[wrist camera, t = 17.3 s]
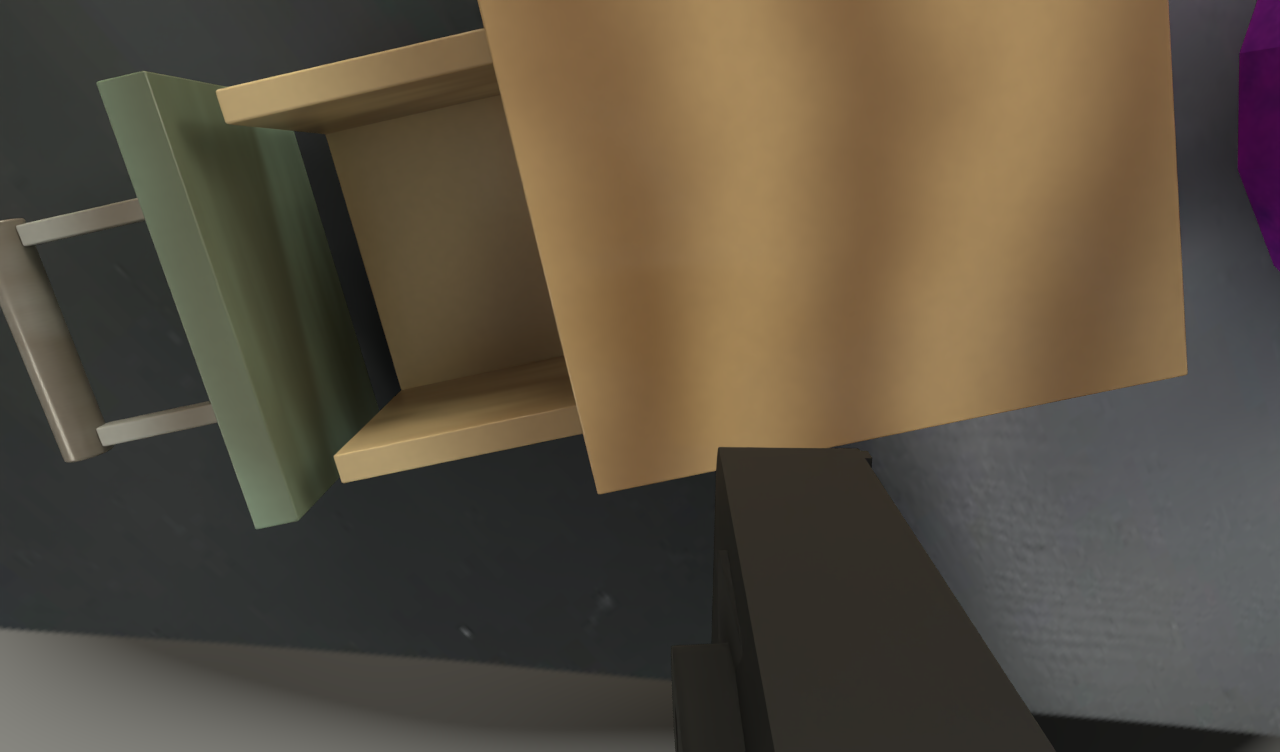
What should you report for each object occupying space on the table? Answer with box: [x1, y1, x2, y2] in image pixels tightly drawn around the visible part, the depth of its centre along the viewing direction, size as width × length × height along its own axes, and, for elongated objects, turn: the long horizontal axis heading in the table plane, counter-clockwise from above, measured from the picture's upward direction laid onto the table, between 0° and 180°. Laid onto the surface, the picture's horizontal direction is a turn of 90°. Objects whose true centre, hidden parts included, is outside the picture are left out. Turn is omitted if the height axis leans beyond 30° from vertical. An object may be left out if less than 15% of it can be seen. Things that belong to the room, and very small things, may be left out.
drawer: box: [0, 28, 583, 529], centre depth 24 cm, size 20×11×8 cm, turn 102°
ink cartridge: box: [712, 447, 1056, 752], centre depth 10 cm, size 5×2×8 cm, turn 0°
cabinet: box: [478, 0, 1188, 494], centre depth 23 cm, size 15×13×10 cm
